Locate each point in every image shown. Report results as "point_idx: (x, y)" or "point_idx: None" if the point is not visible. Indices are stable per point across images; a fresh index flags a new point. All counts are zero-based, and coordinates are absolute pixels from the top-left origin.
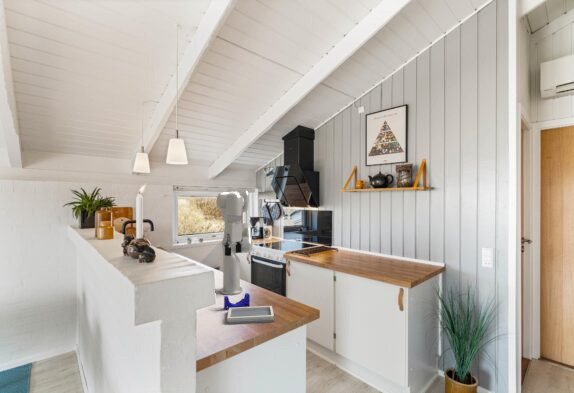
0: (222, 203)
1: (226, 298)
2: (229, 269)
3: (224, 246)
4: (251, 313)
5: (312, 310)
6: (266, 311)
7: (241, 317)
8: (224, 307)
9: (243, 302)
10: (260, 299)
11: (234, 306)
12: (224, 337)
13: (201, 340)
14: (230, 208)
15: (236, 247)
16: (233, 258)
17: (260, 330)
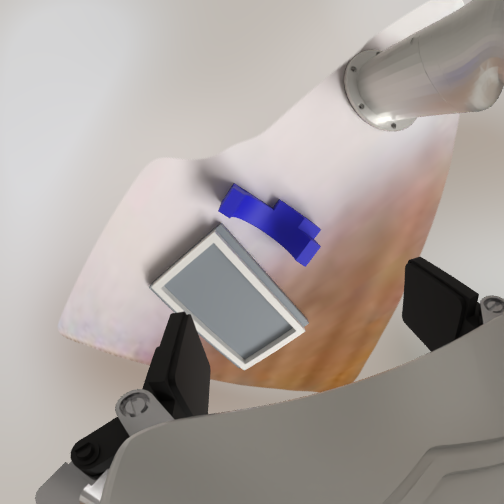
0: None
1: (222, 213)
2: (415, 77)
3: (121, 404)
4: (237, 305)
5: (344, 384)
6: (275, 328)
7: None
8: (229, 190)
9: (281, 242)
10: (369, 238)
11: (250, 222)
12: (110, 322)
13: (72, 291)
14: None
15: (440, 299)
16: (470, 88)
17: None
